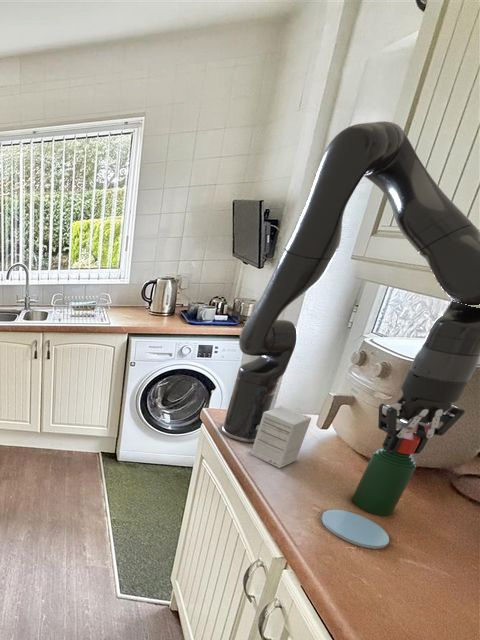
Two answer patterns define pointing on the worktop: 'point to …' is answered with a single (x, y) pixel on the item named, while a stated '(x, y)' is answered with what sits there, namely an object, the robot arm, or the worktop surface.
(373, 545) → the saucer
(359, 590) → the worktop surface
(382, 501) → the sauce bottle
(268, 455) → the white packaging box
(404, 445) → the cap
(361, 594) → the worktop surface
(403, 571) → the worktop surface
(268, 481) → the worktop surface
